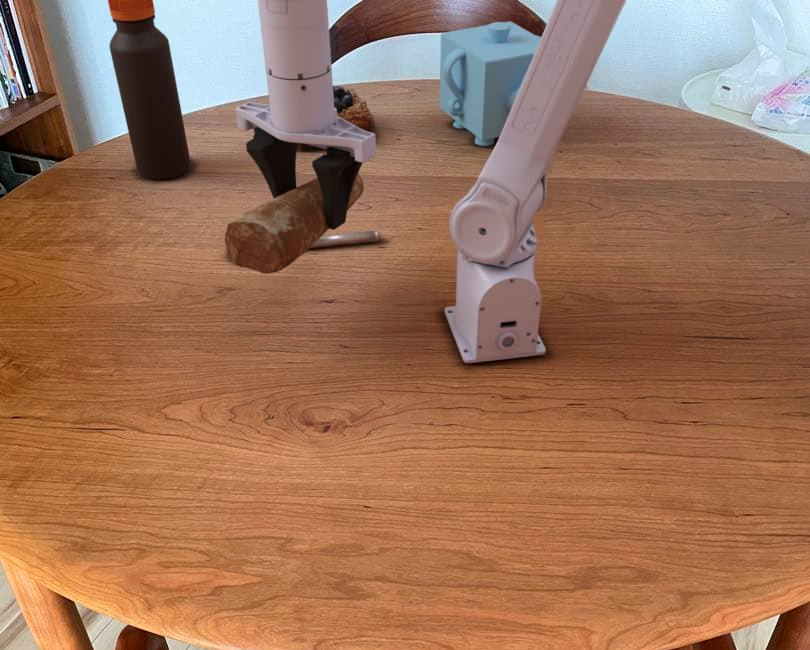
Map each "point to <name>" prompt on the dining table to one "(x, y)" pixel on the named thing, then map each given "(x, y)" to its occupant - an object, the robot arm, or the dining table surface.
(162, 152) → the bottle
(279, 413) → the dining table surface
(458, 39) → the teapot
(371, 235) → the spoon
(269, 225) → the brown wooden log
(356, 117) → the pastry
